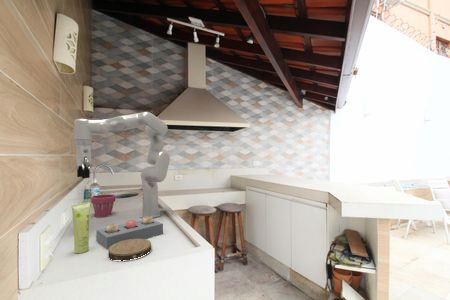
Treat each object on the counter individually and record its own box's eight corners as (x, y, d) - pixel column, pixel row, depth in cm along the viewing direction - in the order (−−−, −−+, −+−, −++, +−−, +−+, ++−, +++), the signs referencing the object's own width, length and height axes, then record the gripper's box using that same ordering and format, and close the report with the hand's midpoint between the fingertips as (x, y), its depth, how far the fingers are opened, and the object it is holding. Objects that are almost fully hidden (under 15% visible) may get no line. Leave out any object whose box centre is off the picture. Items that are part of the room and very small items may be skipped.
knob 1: (115, 232, 108) (115, 223, 108) (119, 235, 105) (119, 225, 105) (105, 235, 105) (105, 225, 105) (108, 237, 101) (108, 227, 102)
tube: (85, 253, 93) (85, 204, 93) (71, 254, 92) (71, 205, 92) (90, 248, 98) (90, 201, 99) (77, 249, 97) (77, 202, 97)
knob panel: (149, 227, 125) (149, 218, 125) (163, 233, 115) (163, 223, 115) (96, 241, 106) (96, 230, 106) (107, 249, 96) (107, 237, 97)
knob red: (133, 228, 114) (133, 219, 114) (137, 230, 111) (137, 221, 111) (124, 230, 111) (124, 221, 111) (128, 232, 108) (128, 223, 108)
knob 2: (149, 224, 120) (149, 216, 120) (153, 226, 117) (153, 217, 117) (141, 226, 117) (141, 217, 117) (145, 228, 114) (145, 219, 114)
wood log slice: (104, 252, 95) (104, 244, 95) (143, 242, 104) (143, 236, 104) (113, 266, 82) (113, 258, 82) (157, 254, 92) (157, 246, 92)
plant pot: (119, 214, 154) (119, 195, 155) (98, 219, 142) (98, 198, 143) (107, 211, 162) (107, 193, 162) (86, 216, 150) (86, 196, 150)
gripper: (96, 143, 114) (96, 178, 114) (87, 144, 126) (87, 175, 126) (78, 142, 109) (78, 179, 108) (70, 144, 121) (70, 177, 121)
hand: (83, 177), depth 117 cm, fingers open, 9 cm apart
